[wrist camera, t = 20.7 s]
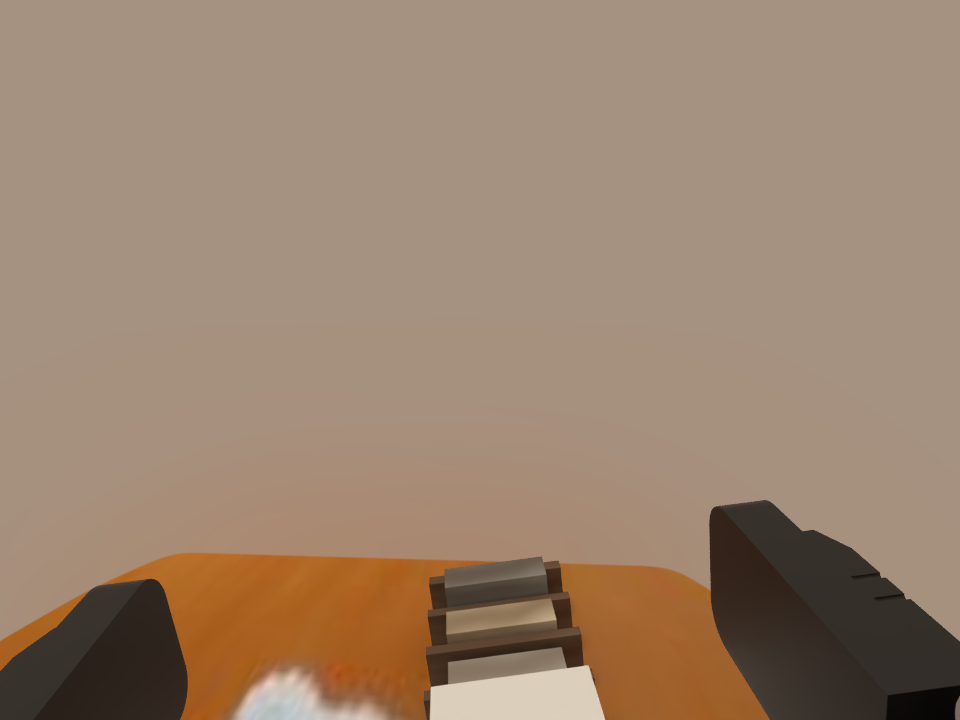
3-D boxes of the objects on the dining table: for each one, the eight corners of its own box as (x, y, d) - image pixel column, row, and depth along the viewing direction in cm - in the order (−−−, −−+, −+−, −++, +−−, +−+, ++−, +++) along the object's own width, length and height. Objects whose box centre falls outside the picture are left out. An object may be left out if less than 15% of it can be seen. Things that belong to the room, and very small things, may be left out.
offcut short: (572, 716, 42) (568, 673, 41) (454, 732, 42) (448, 689, 41) (565, 687, 44) (561, 647, 43) (454, 703, 44) (448, 662, 43)
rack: (623, 825, 35) (618, 756, 34) (432, 852, 35) (420, 783, 34) (563, 611, 54) (558, 560, 53) (437, 627, 54) (429, 577, 52)
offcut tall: (552, 634, 50) (546, 574, 48) (453, 647, 50) (444, 587, 48) (547, 613, 52) (541, 556, 51) (453, 626, 52) (444, 569, 51)
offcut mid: (561, 671, 46) (556, 619, 45) (454, 686, 46) (446, 634, 44) (555, 648, 48) (550, 598, 47) (453, 661, 48) (446, 612, 47)
